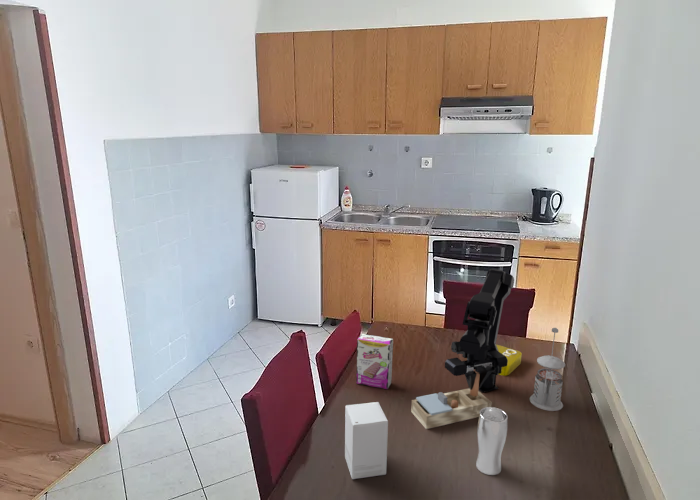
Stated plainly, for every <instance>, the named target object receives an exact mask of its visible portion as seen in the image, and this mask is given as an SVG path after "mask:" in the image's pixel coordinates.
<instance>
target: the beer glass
mask: <svg viewBox="0 0 700 500" xmlns="http://www.w3.org/2000/svg"><path fill="white" fill-rule="evenodd" d="M508 419H509V418H508V414H507V412H505V411H504V410H503V409H501V408H497V407H494V406H491V407H485V408H482V409H481V410H480V414H479V417H478V422H477V429H476V431H477V433H476V435H477V444H478V455H477V459H476V462H475V463H476V464H475V465H476V469H478V471H480V472H481V473H482V474H484V475H487V476H496V475H499V474H500V473H501V471H502V461H501V458H502V454H503V453H502V452H503V449H504V447H505V443H506V439H507V434H508Z"/></svg>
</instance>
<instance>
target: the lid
mask: <svg viewBox="0 0 700 500" xmlns="http://www.w3.org/2000/svg"><path fill="white" fill-rule="evenodd" d="M415 399H417V401H418V402H419V403H420V404H421V405H422V406H423V407H424V408H425V409H426V410H427V411H428V412H429V413H430V415H436V414H440V413H445V412H449V411H452V408H451V407H450V406H449V405H448V404H447V397H446V396H445V395H444V393H443V392H442V391H439V392H438V393H431V394H426V395H421V396H416V397H415Z"/></svg>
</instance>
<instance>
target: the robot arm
mask: <svg viewBox="0 0 700 500" xmlns="http://www.w3.org/2000/svg"><path fill="white" fill-rule="evenodd" d="M514 284H515V277H514V276H513V275H512V274H510V273H507V272H506V271H503V270H501V269H495V268H490V269H488V270H487V271H486V275H485V280H484V282H483V285H482V286H481V289H480V292H479V293H477V294H473V296H472V297H471V299H470V300H469V301H467V305H466V308H465V313H464V317H463V321H462V325H464V326H467V328H466V331H465V332H464V333H463V334H462V336H461V337H460V339H459V341H451V344H450V345H451V346H450V347H451V352H452V353H455V354H456V355H462V357H463V358H464V359H466V360H461V359H460V358H458V357H453V358H447V359H446V360H445V361H444V368H445V369H446V370H447V371H449V373H451V374H452V375H453V376H455V377H458V376H459V377H460V376H463V375H464V377H465V379H466V380H465V381H466V383H467V386H468V388H469V389H471V390H472V389H473V386H474V382H475V378H476V374H477V373H476V372H479V373H480V378H479V389H478V391H479V392H480V393H486V392H492V391H496V390H499V387H498V386H497V385H496V383H497V376H498V375H499V374H501V370H502V367H505V366H507V363H508V359H507V357H506V356H504V355H503V354H501V353H500V352H499V351H498V348H497V346H496V344H497V338H498V333H499V327H500V323H501V318H502V317H501V316H502V311H503V307H504V306H503V305H504V301H505V300H506V299H507V297H508V296H509V295H510V294H511V290H512V289H513V288H514ZM469 318H470V319H469ZM475 371H476V372H475Z"/></svg>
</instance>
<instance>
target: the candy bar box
mask: <svg viewBox="0 0 700 500" xmlns="http://www.w3.org/2000/svg"><path fill="white" fill-rule="evenodd" d="M356 341H357V343H356V376H355V378H356V379H355V380H356V384H359V385H363V386H369V387H374V388H377V389H378V388H379V389H382V390H383V389H385V390H389V388H390V386H391V384H392V379H393V378H392V374H393V372H392V371H393V351H394V350H393V349H394V339H393V338H389V337H384V336H378V335H373V334H371V335H370V334H366V333H360V335H359V337H357V339H356Z"/></svg>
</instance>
